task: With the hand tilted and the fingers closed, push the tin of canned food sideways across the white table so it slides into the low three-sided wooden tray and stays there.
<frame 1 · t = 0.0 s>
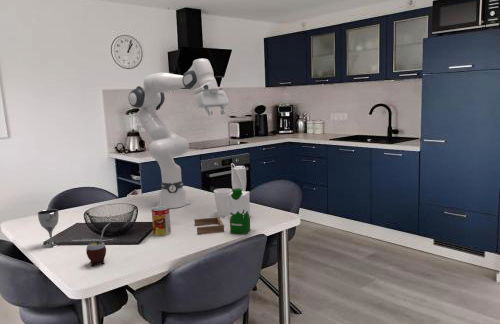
hand: (217, 114, 213), 52 cm above the table, tool tilted 20°, fingers open, 8 cm apart
mate gourd: (98, 263, 161), on the table
milk carton: (240, 231, 192), on the table
wooden tray: (207, 228, 198), on the table
wine glass: (51, 245, 183), on the table
foam cup: (224, 215, 220), on the table
canned food: (162, 233, 194), on the table
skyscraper: (240, 218, 213), on the table
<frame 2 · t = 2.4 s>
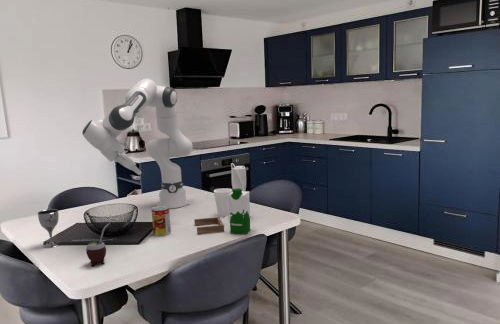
hand: (139, 173, 186), 29 cm above the table, tool tilted 40°, fingers open, 8 cm apart
nothing on the table moved.
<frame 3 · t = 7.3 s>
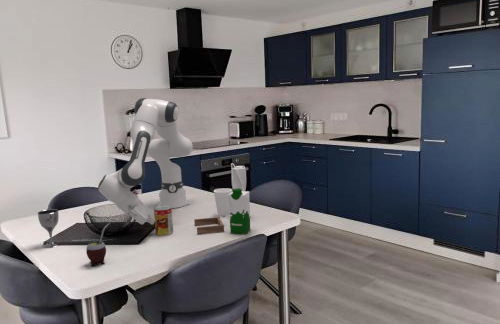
hand: (153, 222, 192), 5 cm above the table, tool tilted 45°, fingers closed, pressing on canned food
canned food: (164, 233, 194), on the table, touching gripper
everything else where it was.
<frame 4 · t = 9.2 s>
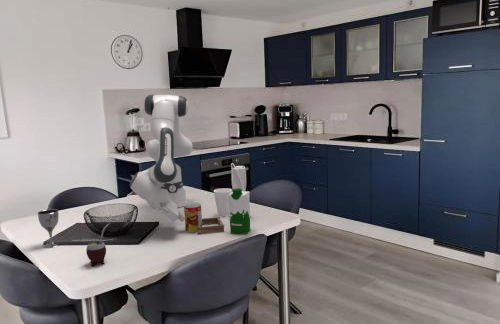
hand: (183, 219, 195), 5 cm above the table, tool tilted 45°, fingers closed, pressing on canned food
canned food: (194, 230, 196), on the table, touching gripper
everything else where it was.
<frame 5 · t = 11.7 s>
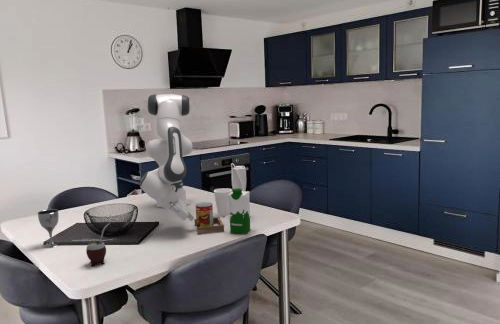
hand: (192, 218, 196), 5 cm above the table, tool tilted 45°, fingers closed
canned food: (205, 229, 198), on the table
everything else where it was.
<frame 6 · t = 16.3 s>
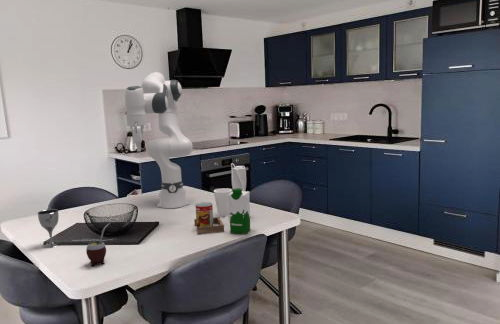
hand: (139, 151, 198), 37 cm above the table, tool pointing down, fingers closed
nothing on the table moved.
at the end: canned food inside the target area (1.7 cm from its centre), on the table; canned food tilted 0° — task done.
